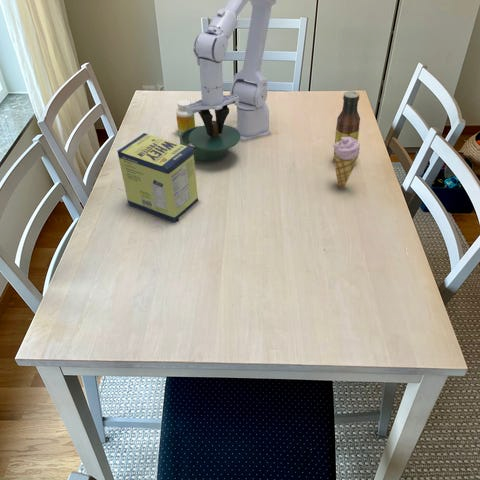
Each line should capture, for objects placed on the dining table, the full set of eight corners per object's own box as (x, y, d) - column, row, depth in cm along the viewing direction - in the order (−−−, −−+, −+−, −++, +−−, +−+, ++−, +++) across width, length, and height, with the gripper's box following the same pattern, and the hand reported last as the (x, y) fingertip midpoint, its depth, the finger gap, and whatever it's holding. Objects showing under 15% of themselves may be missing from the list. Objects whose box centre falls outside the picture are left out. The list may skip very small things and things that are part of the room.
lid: (226, 123, 146) (226, 106, 142) (249, 145, 137) (249, 127, 133) (181, 134, 142) (179, 117, 138) (201, 158, 133) (200, 140, 129)
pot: (214, 136, 153) (214, 121, 150) (234, 156, 145) (234, 141, 142) (174, 146, 149) (172, 131, 146) (191, 168, 141) (190, 153, 137)
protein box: (151, 185, 135) (143, 131, 124) (199, 202, 129) (194, 147, 118) (126, 204, 129) (115, 150, 118) (175, 223, 123) (168, 168, 112)
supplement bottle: (194, 137, 153) (192, 106, 146) (177, 137, 153) (174, 106, 146) (196, 128, 157) (193, 98, 150) (179, 128, 157) (176, 98, 150)
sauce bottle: (353, 157, 144) (365, 89, 130) (355, 168, 140) (367, 99, 126) (331, 156, 145) (340, 88, 130) (331, 167, 140) (341, 98, 126)
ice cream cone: (324, 189, 133) (330, 137, 122) (332, 178, 137) (339, 127, 126) (348, 196, 131) (357, 143, 120) (355, 184, 134) (365, 132, 124)
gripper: (192, 96, 123) (196, 146, 133) (243, 84, 128) (244, 133, 138) (181, 85, 128) (185, 134, 138) (231, 74, 132) (232, 122, 142)
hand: (214, 133), depth 138 cm, fingers closed on lid, 2 cm apart
